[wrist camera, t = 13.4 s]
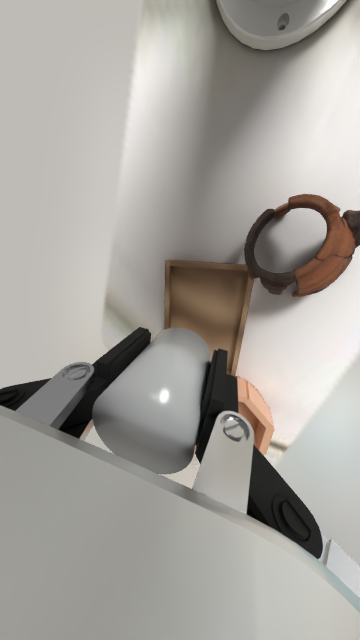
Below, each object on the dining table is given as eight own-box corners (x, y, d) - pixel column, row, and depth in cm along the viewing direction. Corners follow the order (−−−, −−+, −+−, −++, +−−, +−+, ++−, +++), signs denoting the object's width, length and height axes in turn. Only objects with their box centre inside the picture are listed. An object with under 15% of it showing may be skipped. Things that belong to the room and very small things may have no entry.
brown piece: (272, 310, 23) (251, 307, 17) (251, 248, 25) (224, 225, 19) (412, 266, 16) (466, 232, 10) (367, 182, 18) (387, 107, 11)
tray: (169, 259, 24) (165, 260, 23) (254, 265, 22) (256, 266, 20) (167, 358, 30) (164, 364, 28) (234, 371, 27) (234, 379, 26)
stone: (154, 320, 11) (90, 373, 6) (218, 336, 10) (205, 413, 5) (149, 372, 12) (93, 449, 7) (204, 390, 12) (183, 488, 7)
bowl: (184, 364, 30) (177, 381, 26) (275, 382, 26) (282, 405, 22) (180, 423, 35) (174, 444, 31) (256, 445, 31) (259, 472, 28)
